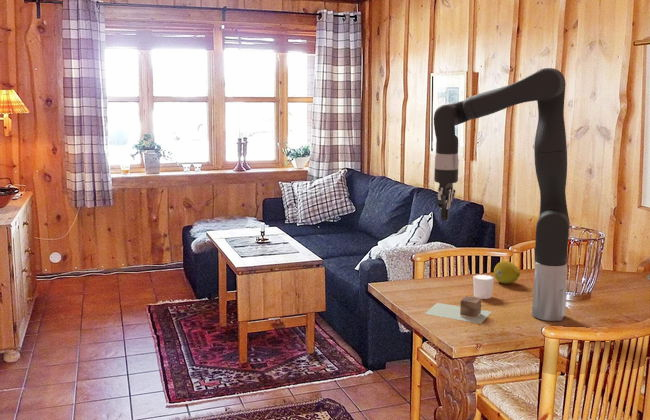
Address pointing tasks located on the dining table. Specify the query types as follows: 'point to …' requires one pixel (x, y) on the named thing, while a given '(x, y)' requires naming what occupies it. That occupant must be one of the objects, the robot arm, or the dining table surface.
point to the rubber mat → (455, 313)
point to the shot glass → (483, 286)
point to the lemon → (506, 272)
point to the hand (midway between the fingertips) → (444, 220)
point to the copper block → (470, 307)
